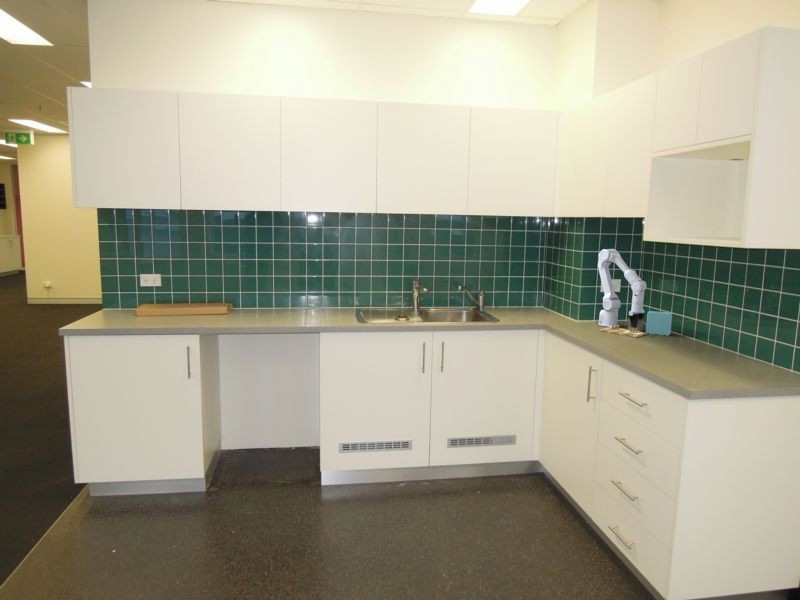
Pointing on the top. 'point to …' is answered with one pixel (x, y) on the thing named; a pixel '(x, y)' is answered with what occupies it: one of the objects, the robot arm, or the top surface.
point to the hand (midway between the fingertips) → (635, 327)
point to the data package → (659, 323)
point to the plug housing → (638, 326)
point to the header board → (623, 331)
